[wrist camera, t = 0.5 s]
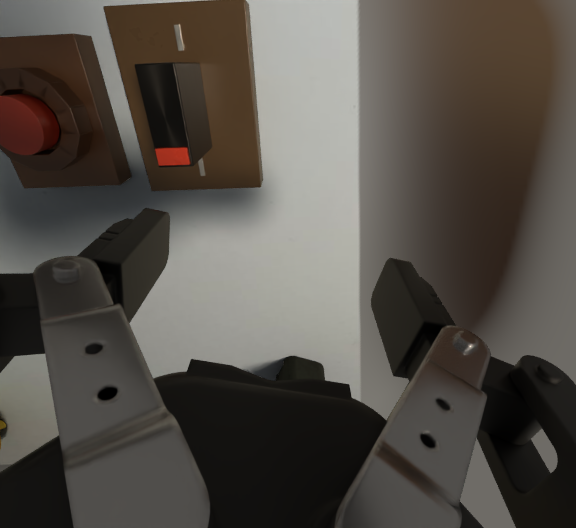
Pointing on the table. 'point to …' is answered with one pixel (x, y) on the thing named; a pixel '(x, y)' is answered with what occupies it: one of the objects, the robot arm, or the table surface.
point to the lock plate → (215, 76)
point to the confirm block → (65, 111)
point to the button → (26, 124)
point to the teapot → (0, 426)
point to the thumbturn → (175, 111)
